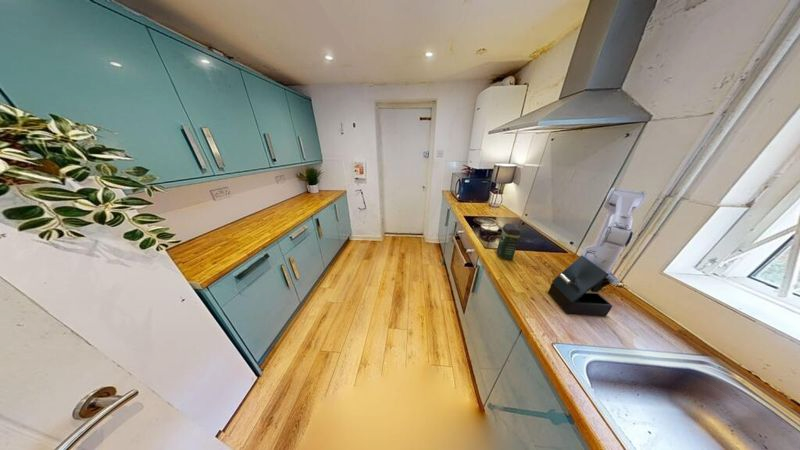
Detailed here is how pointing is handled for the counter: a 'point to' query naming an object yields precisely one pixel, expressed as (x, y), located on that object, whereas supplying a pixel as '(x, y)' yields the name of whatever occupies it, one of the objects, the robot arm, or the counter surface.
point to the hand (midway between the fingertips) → (588, 286)
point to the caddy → (581, 303)
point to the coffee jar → (508, 241)
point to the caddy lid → (579, 278)
